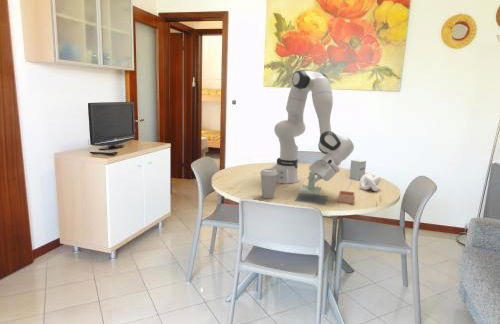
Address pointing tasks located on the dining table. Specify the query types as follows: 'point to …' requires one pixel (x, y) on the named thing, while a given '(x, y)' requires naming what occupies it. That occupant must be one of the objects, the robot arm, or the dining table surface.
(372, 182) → the white knot sculpture
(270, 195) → the coffee cup
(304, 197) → the mat
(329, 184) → the dining table surface
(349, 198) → the open box
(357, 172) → the supplement box
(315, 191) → the lid
